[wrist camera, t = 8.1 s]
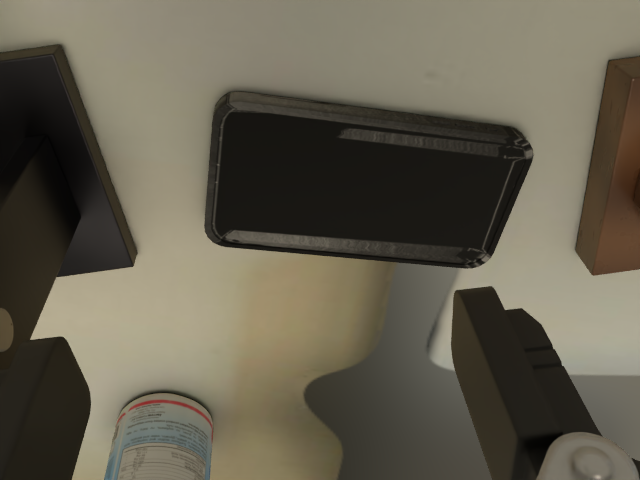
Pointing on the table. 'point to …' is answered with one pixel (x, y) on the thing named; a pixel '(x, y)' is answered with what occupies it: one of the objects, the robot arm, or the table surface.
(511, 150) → the phone
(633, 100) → the button block
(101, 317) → the table surface
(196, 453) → the pill bottle
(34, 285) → the bracket
